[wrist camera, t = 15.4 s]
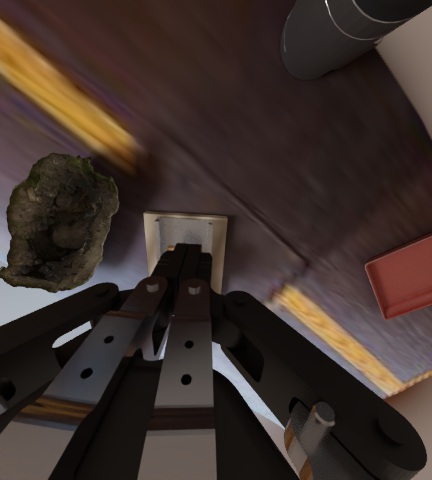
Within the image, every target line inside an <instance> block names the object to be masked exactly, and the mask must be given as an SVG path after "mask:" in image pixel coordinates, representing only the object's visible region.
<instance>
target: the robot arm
mask: <svg viewBox="0 0 432 480" xmlns="http://www.w3.org/2000/svg"><path fill="white" fill-rule="evenodd" d="M430 6H432V0H297V2H296V4H295V6H294V8H293V9H292V10H291V12H290V14H289V16H288V18H287V20H286V22H285V25H284V28H283V30H282V35H281V41H280V51H281V57H282V61H283V64H284V65H285V67H286V69H287V70H288V72H289V73H290V74H291V75H293V76H294V77H296V78H298V79H301V80H312V79H316V78H318V77H321V76H322V75H324V74H326V73H327V72H329V71H330V70H337V69H339V68H341V67H342V66H344V65H346V64H347V63H349V62H351V61H352V60H354V59H355V58H357V57H359V56H360V55H362V54H364V53H365V52H367V51H369V50H370V49H372V48H374V47H375V46H377V45H378V44H379V43H380V42H381V41H382V39H383V37H384V36H385V35H387V34H388V33H390V32H391V31H393V30H395V29H396V28H398V27H399V26H401V25H402V24H404V23H405V22H407V21H409V20H410V19H412V18H413V17H415V16H416V15H418V14H420V13H421V12H423V11H424V10H426V9H427V8H429V7H430ZM212 259H213V257H212V256H211V254H210V253H206V252H202V244H188V243H176V246H175V248H174V250H173V251H172V250H167V251H166V252H164V253H163V254H162V255H161V257H160V259H159V261H158V262H157V264H156V266H155V268H154V270H153V272H152V274H151V276H150V277H147V278H145V279H143V280H141V281H140V282H139V283H138V285H137V286H136V287H135V289H130V290H123V291H119V288H118V286H117V285H116V284H114V283H109V282H106V283H100V284H96V285H94V286H92V287H89V288H87V289H85V290H82V291H80V292H78V293H75V294H73V295H71V296H69V297H66V298H64V299H62V300H59V301H57V302H55V303H53V304H50V305H48V306H46V307H43V308H41V309H39V310H37V311H34V312H32V313H30V314H27V315H25V316H23V317H20V318H18V319H16V320H14V321H11V322H9V323H7V324H5V325H2V326H0V480H410V479H411V478H413V477H414V476H415V475H416V474H417V473H418V472H419V471H420V470H422V469H423V468H424V466H425V465H426V462H427V454H426V449H425V446H424V444H423V441H422V439H421V438H420V436H419V434H418V433H417V431H416V430H415V429H414V427H413V426H412V425H411V424H410V422H409V421H408V420H407V419H406V418H405V417H404V416H402V415H401V414H400V413H399V412H398V411H396V410H395V409H394V408H393V407H391V406H390V405H389V404H388V403H386V402H385V401H383V399H381V398H380V397H379V396H378V395H376V394H375V393H374V392H373V391H371V390H370V389H369V388H367V387H366V386H365V385H364V384H362V383H361V382H360V381H359V380H357V379H356V378H355V377H354V376H352V375H351V374H350V373H349V372H347V371H346V370H345V369H344V368H342V367H341V366H340V365H339V364H337V363H336V362H335V361H334V360H332V359H331V358H330V357H328V356H327V355H326V354H325V353H323V352H322V351H321V350H320V349H318V348H317V347H316V346H315V345H313V344H312V343H311V342H310V341H308V340H307V339H306V338H305V337H303V336H302V335H301V334H300V333H298V332H297V331H296V330H294V329H293V328H292V327H291V326H289V325H288V324H287V323H286V322H284V321H283V320H282V319H281V318H279V317H278V316H277V315H276V314H274V313H273V312H272V311H271V310H269V309H268V308H267V307H266V306H264V305H263V304H262V303H261V302H259V301H258V300H257V299H255V298H254V297H253V296H252V295H250V294H249V293H247V292H244V291H232V292H229V293H228V294H227V295H226V296H224V295H221V294H218V293H216V292H215V291H214V290H213V289H212V288H211V279H212ZM173 315H174V316H173ZM88 321H90V323H91V327H92V328H91V329H89V330H88V331H86V332H84V333H82V334H81V335H79V336H77V337H75V338H73V339H72V340H70V341H68V342H66V343H65V344H63V345H62V346H59V347H56V348H52V345H53V343H54V342H55V341H56V340H57V339H58V338H59V337H60V336H62V335H64V334H66V333H68V332H70V331H72V330H73V329H75V328H77V327H79V326H81V325H83V324H84V323H86V322H88ZM167 336H168V338H167ZM166 339H167V343H166V348H165V353H164V359H160V360H159V357H160V355H161V352H162V349H163V347H164V344H165V341H166ZM212 341H213V342H215V343H218V344H220V346H221V349H222V351H223V352H224V354H225V355H226V356H227V357H228V359H229V360H230V361H231V362H232V364H233V365H234V366H235V367H236V368H237V370H238V371H239V372H240V373H241V375H242V376H243V377H244V378H245V380H246V381H247V382H248V383H249V384H250V386H251V387H252V388H253V389H254V391H255V392H256V393H257V394H258V396H259V397H260V398H261V399H262V400H263V402H264V403H265V404H266V405H267V407H268V408H269V409H270V410H271V412H272V413H273V414H274V415H275V416H276V418H277V419H278V420H279V421H280V423H281V424H282V425H283V426H284V428H285V432H284V443H285V447H286V451H287V453H288V456H289V458H290V459H291V461H292V463H293V464H294V466H295V468H296V470H297V472H298V474H299V477H300V479H299V477H298V476H297V475H296V473H295V472H294V470H293V469H292V468H291V466H290V465H289V463H288V462H287V460H286V459H285V458H284V456H283V455H282V453H281V452H280V451H279V449H278V447H277V446H276V445H275V443H274V442H273V440H272V439H271V437H270V436H269V435H268V433H267V432H266V430H265V429H264V427H263V426H262V424H261V423H260V422H259V420H258V419H257V417H256V416H255V415H254V413H253V412H252V410H251V409H250V407H249V406H248V404H247V403H246V401H245V400H244V399H243V397H242V396H241V394H240V393H239V391H238V390H237V389H236V387H235V386H234V385H233V384H232V383H231V382H230V381H229V380H228V379H227V378H226V377H225V376H224V375H222V374H221V373H219V372H218V371H216V370H214V369H213V368H212Z"/></svg>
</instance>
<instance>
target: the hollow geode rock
mask: <svg viewBox="0 0 432 480" xmlns="http://www.w3.org/2000/svg"><path fill="white" fill-rule="evenodd" d="M90 161H91V157H88V158H81V157H80V155H78V156H77V157H74V156H70V155H67V154H57V153H51V154H49V155H48V156H47V157H44V158H41V159H40V160H38V161H37V163H36V164H33V166H32V168H31V171H30V173H29V176H28V178H27V179H25V180H24V181H23V182H21V183H20V184H19V185H17V186H15V187H14V188H13V190H12V195H11V196H10V204H9V205H8V207H7V211H6V213H7V222H8V230H9V232H10V234H11V237H12V239H11V240H10V250H9V252H8V254H7V262H8V267H7V268H5V267H1V268H0V278H2V279H3V280H4V281H5V282H6V283H7V284H10V285H11V286H13V287H17V286H21V287H22V286H23V287H26V288H41V289H44V290H46V291H48V292H52V293H57V292H58V291H59V290H60V291H65V290H72V289H74V288H76V287H78V286H81V285H83V284H85V283H86V282H87V281H88V280H89V279H90V278H91V277H92V276H93V274H94V272H95V269H96V268H97V266H98V265H99V262H100V261H102V259H103V257H102V253H103V244H104V242H105V240H106V237H107V234H108V232H109V230H110V222H111V216H112V215H114V214H115V213H116V212H117V211H118V208H119V201H118V189H117V186H116V185H115V183H114V180H113V176H112V177H105V176H103V175H101V174H99V173H95V172H94V170H93V167H92V166H91V165H90V164H89V163H90ZM77 211H78V212H77ZM54 244H55V245H56V246H55V247H53V246H54ZM65 249H68V251H67V252H66V251H65ZM78 249H79V250H78Z"/></svg>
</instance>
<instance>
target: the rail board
mask: <svg viewBox="0 0 432 480" xmlns="http://www.w3.org/2000/svg"><path fill="white" fill-rule="evenodd" d="M143 214H144V225H145V236H146V248H147V259H148V270H149V277H150V276H151V274H152V272H153V270H154V268H155V266H156V264H157V255H156V240H155V226H154V221H155V220H156V218H157V217H169V218H186V219H202V220H213V233H212V251H211V256H212V257H213V259H212V279H211V288H212V289H213V290H214V291H215V292H216V293H218V294H221V287H222V276H223V264H224V253H225V242H226V230H227V219H228V218H227V216H218V215H202V214H186V213H169V212H153V211H145V212H144V213H143Z"/></svg>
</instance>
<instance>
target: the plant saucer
mask: <svg viewBox="0 0 432 480" xmlns="http://www.w3.org/2000/svg"><path fill="white" fill-rule="evenodd" d="M365 270H366V272H367V275H368V278H369V280H370V283H371V286H372V288H373V291H374V294H375V296H376V299H377V302H378V305H379V307H380V310H381V313H382V315H383V318H384V319H385V320H390V319H392V318H395V317H398V316H401V315H404V314H406V313H409V312H412V311H415V310H418V309H421V308H423V307H426V306H429V305H432V232H431V233H429V234H427V235H424V236H422V237H420V238H418V239H415V240H413V241H411V242H408V243H406V244H404V245H401V246H399V247H397V248H394V249H392V250H390V251H387V252H385V253H383V254H380V255H378V256H376V257H373V258H371V259H369V260H368V261H367V262H366V263H365Z"/></svg>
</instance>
